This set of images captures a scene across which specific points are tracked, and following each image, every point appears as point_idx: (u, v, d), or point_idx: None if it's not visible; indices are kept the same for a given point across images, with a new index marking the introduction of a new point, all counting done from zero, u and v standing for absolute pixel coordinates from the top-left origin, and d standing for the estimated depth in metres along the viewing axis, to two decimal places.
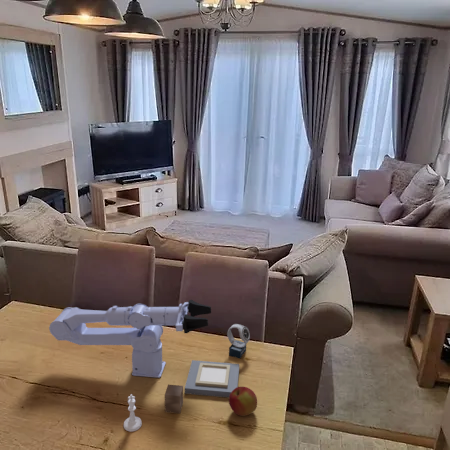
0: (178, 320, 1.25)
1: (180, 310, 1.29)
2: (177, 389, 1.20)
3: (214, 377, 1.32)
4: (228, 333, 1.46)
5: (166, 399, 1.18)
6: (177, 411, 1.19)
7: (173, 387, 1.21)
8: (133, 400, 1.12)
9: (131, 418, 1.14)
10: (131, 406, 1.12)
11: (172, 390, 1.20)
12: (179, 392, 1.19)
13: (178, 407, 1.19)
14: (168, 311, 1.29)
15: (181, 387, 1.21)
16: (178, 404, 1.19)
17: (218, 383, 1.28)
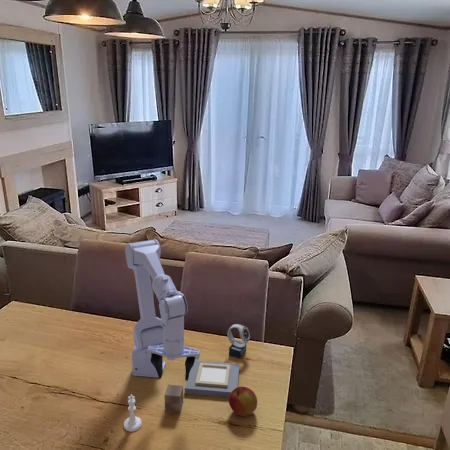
0: (154, 352, 1.15)
1: (166, 356, 1.13)
2: (177, 389, 1.20)
3: (214, 377, 1.32)
4: (228, 333, 1.46)
5: (166, 399, 1.18)
6: (177, 411, 1.19)
7: (173, 387, 1.21)
8: (133, 400, 1.12)
9: (131, 418, 1.14)
10: (131, 406, 1.12)
11: (172, 390, 1.20)
12: (179, 392, 1.19)
13: (178, 407, 1.19)
14: (166, 343, 1.13)
15: (181, 387, 1.21)
16: (178, 404, 1.19)
17: (218, 383, 1.28)
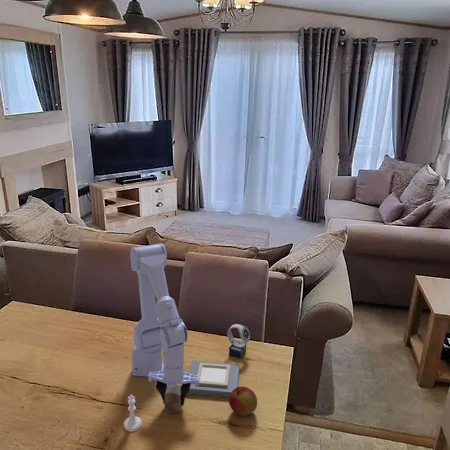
0: (155, 378, 1.18)
1: (167, 383, 1.16)
2: (177, 389, 1.20)
3: (214, 377, 1.32)
4: (228, 333, 1.46)
5: (166, 399, 1.18)
6: (177, 411, 1.19)
7: (173, 387, 1.21)
8: (133, 400, 1.12)
9: (131, 418, 1.14)
10: (131, 406, 1.12)
11: (172, 389, 1.20)
12: (179, 392, 1.19)
13: (178, 407, 1.19)
14: (166, 371, 1.15)
15: None
16: (178, 404, 1.19)
17: (218, 383, 1.28)
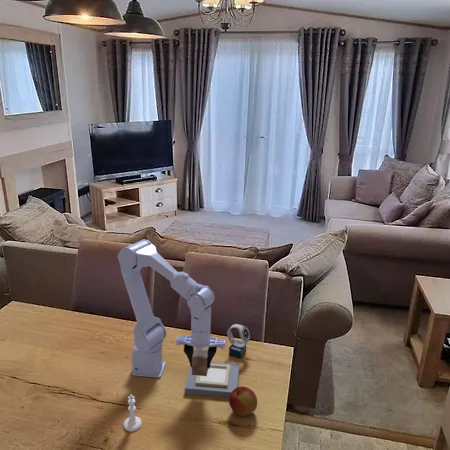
0: (183, 342, 1.23)
1: (194, 346, 1.21)
2: (203, 353, 1.26)
3: (214, 377, 1.32)
4: (228, 333, 1.46)
5: (193, 362, 1.24)
6: (203, 374, 1.25)
7: (200, 351, 1.26)
8: (133, 400, 1.12)
9: (131, 418, 1.14)
10: (131, 406, 1.12)
11: (199, 353, 1.25)
12: (206, 356, 1.24)
13: (205, 370, 1.24)
14: (194, 334, 1.21)
15: (207, 351, 1.26)
16: (205, 367, 1.24)
17: (218, 383, 1.28)
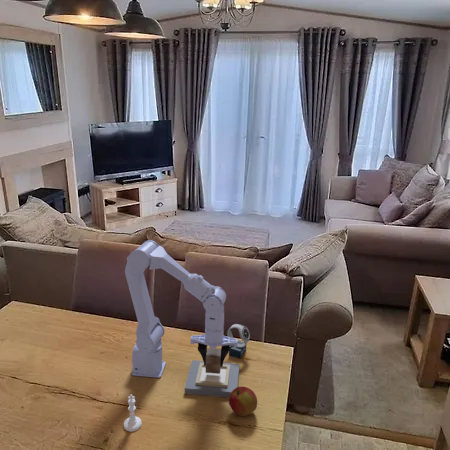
0: (197, 341, 1.28)
1: (208, 344, 1.26)
2: (217, 351, 1.31)
3: (214, 377, 1.32)
4: (228, 333, 1.46)
5: (207, 360, 1.29)
6: (217, 371, 1.29)
7: (213, 350, 1.31)
8: (133, 400, 1.12)
9: (131, 418, 1.14)
10: (131, 406, 1.12)
11: (212, 352, 1.30)
12: (219, 354, 1.29)
13: (218, 368, 1.29)
14: (208, 333, 1.25)
15: (220, 350, 1.31)
16: (218, 365, 1.29)
17: (218, 383, 1.28)
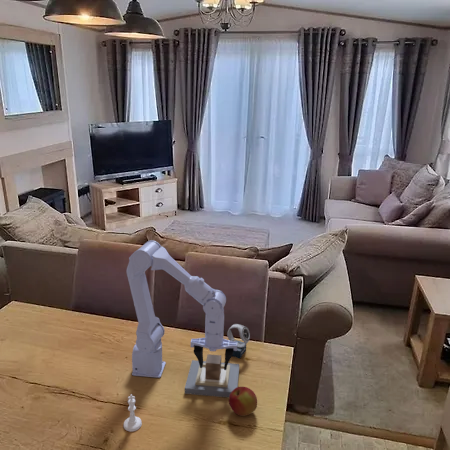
0: (197, 344, 1.28)
1: (208, 348, 1.27)
2: (216, 358, 1.31)
3: None
4: (228, 333, 1.46)
5: (207, 367, 1.29)
6: (217, 378, 1.30)
7: (213, 356, 1.32)
8: (133, 400, 1.12)
9: (131, 418, 1.14)
10: (131, 406, 1.12)
11: (212, 358, 1.31)
12: (219, 361, 1.30)
13: (218, 374, 1.30)
14: (208, 336, 1.26)
15: (220, 356, 1.32)
16: (218, 371, 1.29)
17: (218, 383, 1.28)
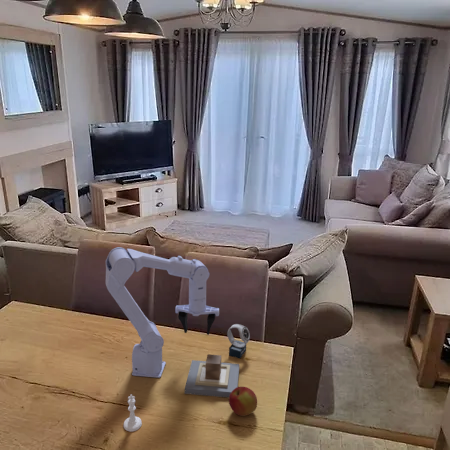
0: (181, 310, 1.38)
1: (191, 313, 1.36)
2: (216, 358, 1.31)
3: None
4: (228, 333, 1.46)
5: (207, 367, 1.29)
6: (217, 378, 1.30)
7: (213, 356, 1.32)
8: (133, 400, 1.12)
9: (131, 418, 1.14)
10: (131, 406, 1.12)
11: (212, 358, 1.31)
12: (219, 361, 1.30)
13: (218, 374, 1.30)
14: (192, 302, 1.35)
15: (220, 356, 1.32)
16: (218, 371, 1.29)
17: (218, 383, 1.28)
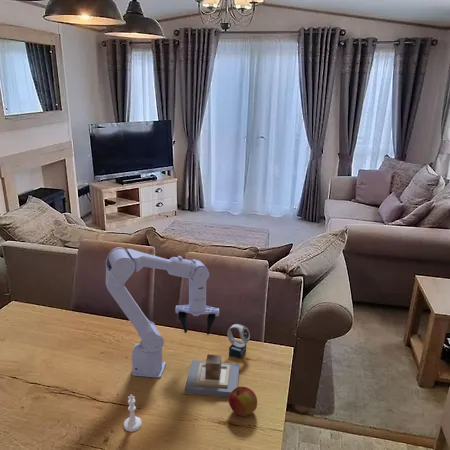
0: (181, 310, 1.38)
1: (191, 313, 1.36)
2: (216, 358, 1.31)
3: None
4: (228, 333, 1.46)
5: (207, 367, 1.29)
6: (217, 378, 1.30)
7: (213, 356, 1.32)
8: (133, 400, 1.12)
9: (131, 418, 1.14)
10: (131, 406, 1.12)
11: (212, 358, 1.31)
12: (219, 361, 1.30)
13: (218, 374, 1.30)
14: (192, 302, 1.35)
15: (220, 356, 1.32)
16: (218, 371, 1.29)
17: (218, 383, 1.28)
